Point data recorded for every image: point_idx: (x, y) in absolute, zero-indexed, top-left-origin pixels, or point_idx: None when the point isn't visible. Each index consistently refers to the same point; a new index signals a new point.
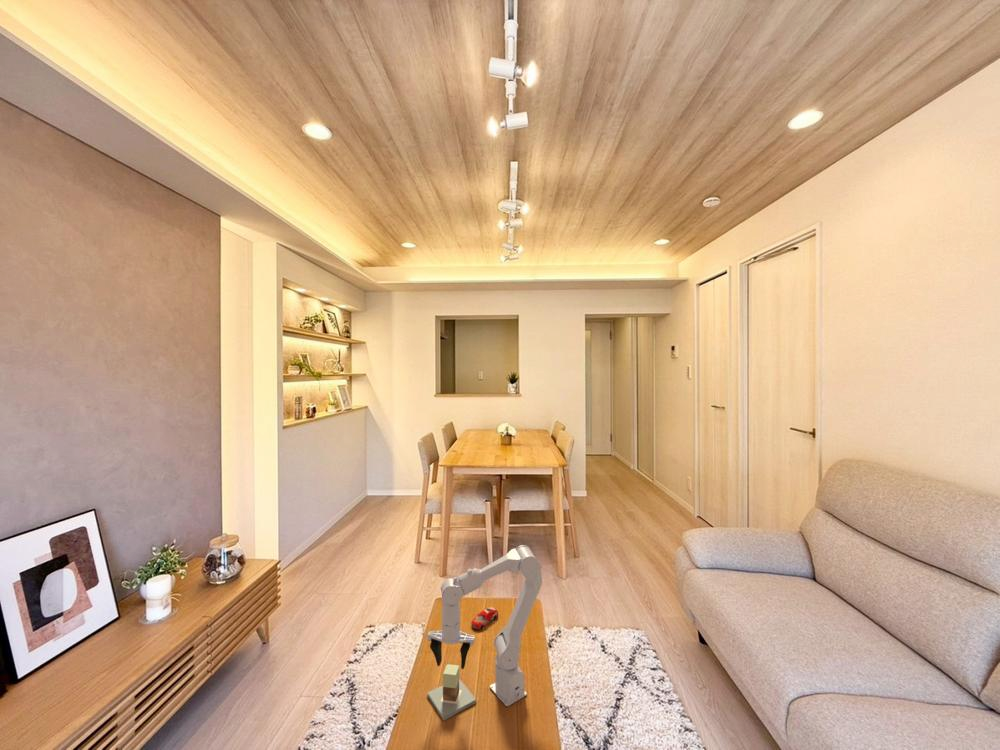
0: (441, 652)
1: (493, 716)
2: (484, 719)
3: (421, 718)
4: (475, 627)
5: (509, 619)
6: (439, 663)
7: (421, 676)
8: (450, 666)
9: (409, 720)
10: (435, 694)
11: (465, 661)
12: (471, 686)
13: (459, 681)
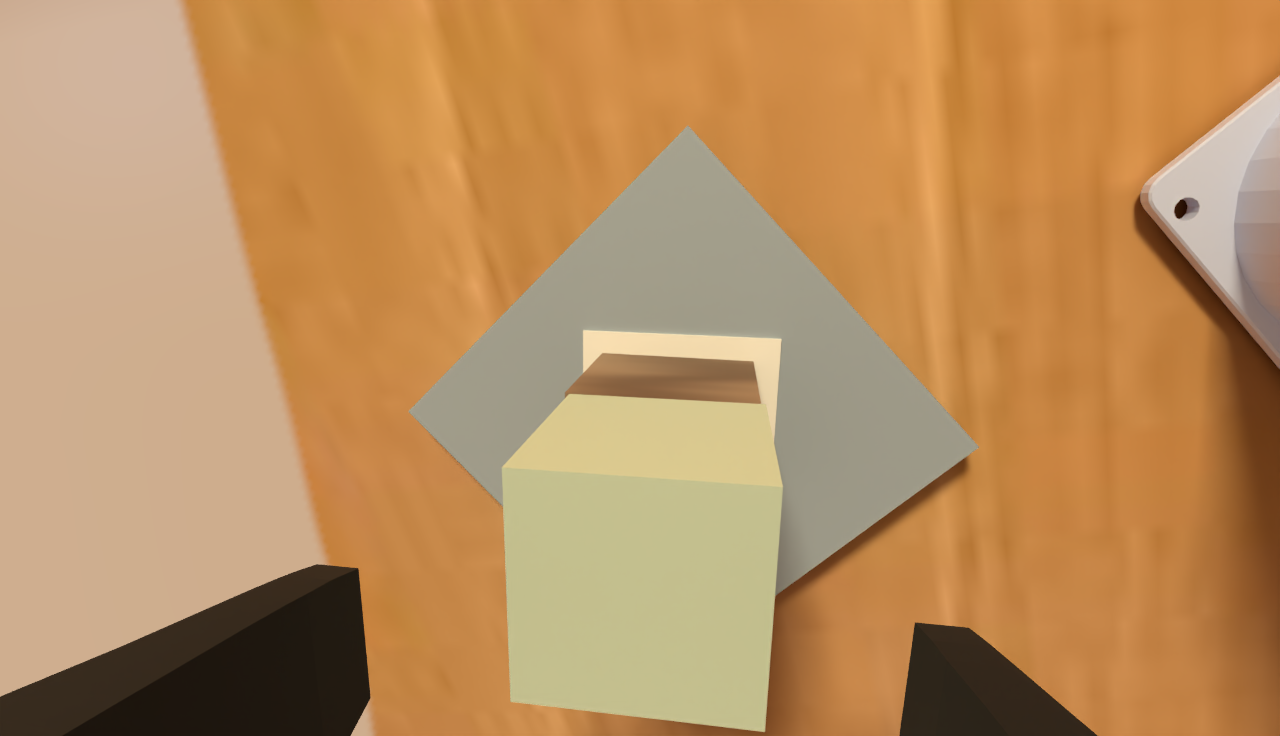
0: (187, 657)
1: (1181, 583)
2: (1078, 620)
3: (472, 635)
4: None
5: None
6: (338, 729)
7: (249, 140)
8: (593, 525)
9: (385, 656)
10: (499, 426)
11: (1016, 672)
12: (877, 204)
13: (720, 199)
